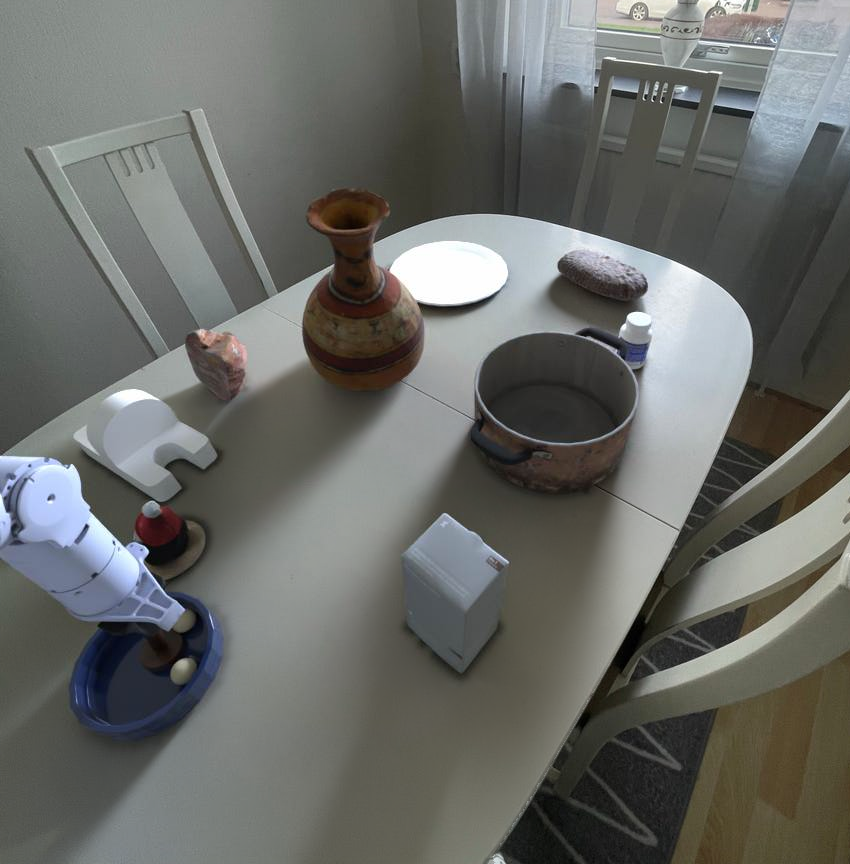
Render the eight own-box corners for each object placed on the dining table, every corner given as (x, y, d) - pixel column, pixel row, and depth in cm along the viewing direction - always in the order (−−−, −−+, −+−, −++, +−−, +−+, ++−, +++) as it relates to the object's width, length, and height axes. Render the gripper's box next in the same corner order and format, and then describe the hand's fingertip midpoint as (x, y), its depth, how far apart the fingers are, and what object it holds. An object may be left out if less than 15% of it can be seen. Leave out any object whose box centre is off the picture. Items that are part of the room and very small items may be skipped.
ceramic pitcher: (326, 418, 80) (272, 243, 60) (302, 342, 94) (251, 178, 73) (444, 381, 86) (431, 211, 65) (406, 315, 99) (385, 156, 78)
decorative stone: (660, 284, 107) (666, 262, 103) (630, 317, 99) (636, 295, 95) (577, 255, 115) (580, 234, 112) (543, 283, 107) (545, 262, 104)
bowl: (159, 765, 49) (142, 757, 46) (57, 709, 52) (36, 699, 50) (250, 629, 58) (239, 617, 55) (158, 589, 61) (144, 575, 59)
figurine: (103, 515, 64) (157, 466, 60) (181, 537, 70) (236, 494, 66) (81, 579, 58) (140, 529, 54) (169, 597, 64) (227, 553, 60)
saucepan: (545, 352, 91) (550, 302, 84) (661, 412, 81) (680, 361, 74) (426, 456, 75) (420, 405, 68) (553, 547, 65) (563, 498, 57)
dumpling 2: (189, 691, 53) (179, 684, 51) (171, 682, 53) (160, 674, 52) (206, 667, 54) (197, 659, 53) (187, 659, 55) (178, 651, 53)
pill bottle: (647, 370, 88) (659, 329, 82) (616, 370, 88) (626, 329, 82) (640, 350, 92) (652, 309, 86) (611, 350, 92) (620, 309, 86)
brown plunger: (163, 678, 53) (132, 628, 48) (133, 663, 54) (99, 612, 49) (193, 642, 56) (167, 592, 51) (164, 629, 57) (136, 578, 52)
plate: (455, 234, 122) (454, 229, 121) (532, 277, 109) (532, 271, 108) (365, 273, 110) (365, 268, 109) (440, 326, 97) (440, 321, 96)
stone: (192, 376, 87) (167, 329, 80) (237, 351, 92) (217, 305, 85) (233, 411, 81) (209, 364, 74) (278, 383, 86) (261, 336, 79)
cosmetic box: (406, 627, 58) (388, 559, 47) (449, 579, 62) (442, 506, 51) (464, 680, 54) (459, 619, 43) (505, 625, 58) (511, 557, 47)
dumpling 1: (197, 609, 57) (204, 619, 58) (179, 601, 57) (187, 611, 59) (180, 629, 55) (187, 639, 56) (162, 621, 55) (170, 631, 57)
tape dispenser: (162, 504, 69) (124, 454, 62) (83, 451, 76) (39, 400, 68) (220, 455, 75) (191, 404, 68) (142, 410, 82) (107, 358, 74)
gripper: (181, 545, 44) (235, 611, 53) (56, 494, 47) (127, 564, 57) (112, 626, 39) (185, 683, 48) (-21, 562, 43) (70, 627, 52)
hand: (150, 623), depth 52 cm, fingers closed on brown plunger
